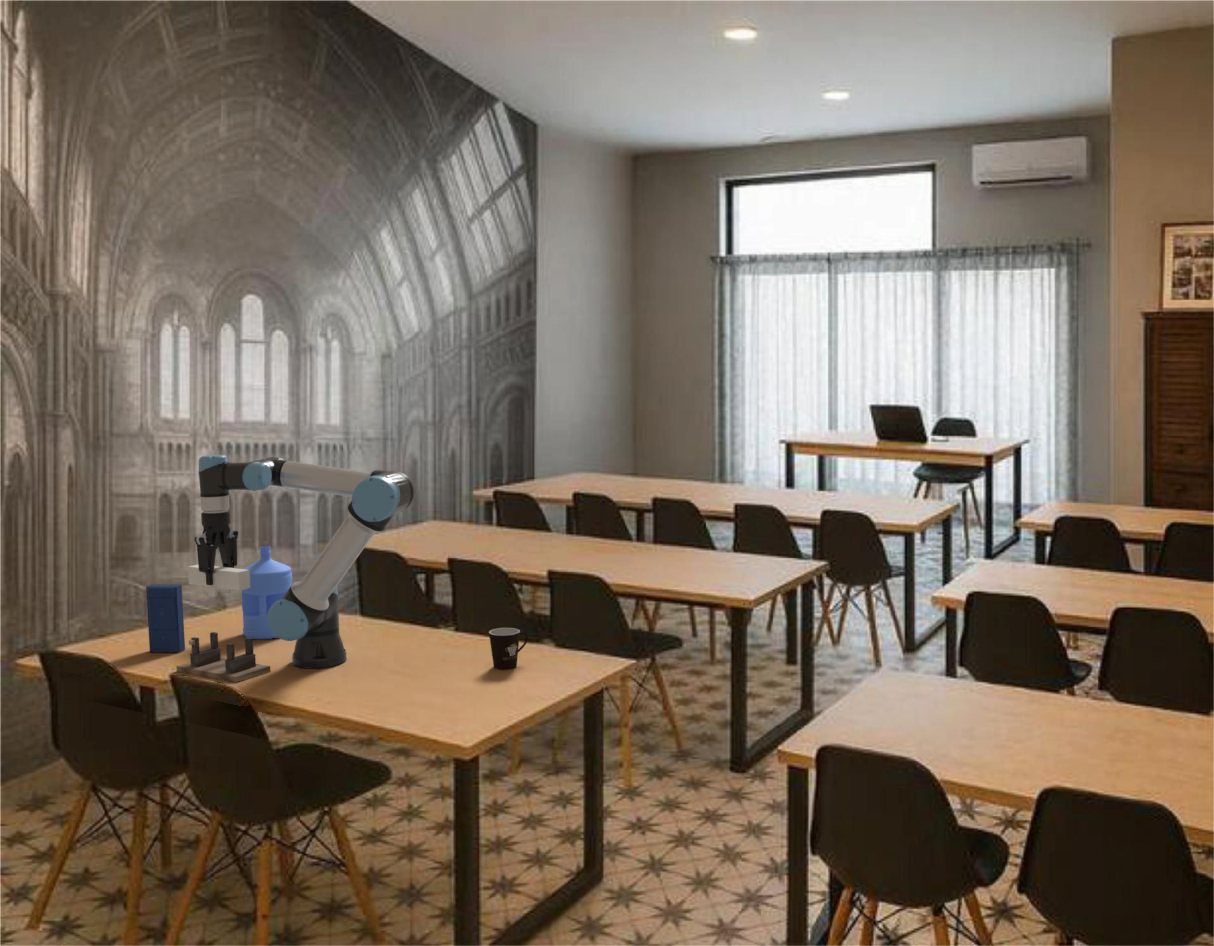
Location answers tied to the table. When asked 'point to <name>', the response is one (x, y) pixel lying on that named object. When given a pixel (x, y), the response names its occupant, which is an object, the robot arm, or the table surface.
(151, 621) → the electronic device
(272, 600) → the water jug
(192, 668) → the cable cradle
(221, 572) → the white slab
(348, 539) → the robot arm
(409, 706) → the table surface
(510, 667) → the coffee mug
